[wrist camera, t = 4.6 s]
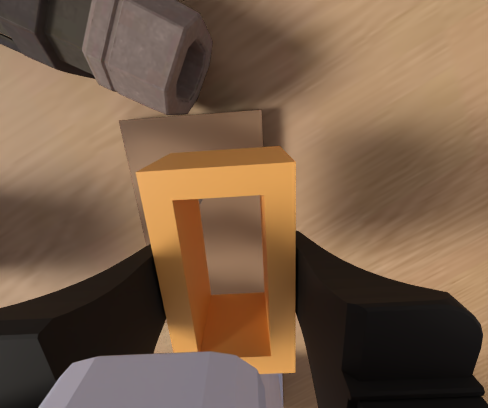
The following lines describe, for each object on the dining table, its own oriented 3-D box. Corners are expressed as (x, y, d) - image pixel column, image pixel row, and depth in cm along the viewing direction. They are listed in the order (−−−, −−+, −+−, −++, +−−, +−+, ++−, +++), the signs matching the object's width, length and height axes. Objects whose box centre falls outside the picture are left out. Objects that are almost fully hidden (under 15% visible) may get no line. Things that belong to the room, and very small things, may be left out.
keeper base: (269, 305, 25) (275, 352, 20) (168, 311, 25) (149, 359, 20) (260, 110, 19) (265, 108, 14) (127, 120, 19) (87, 122, 14)
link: (282, 306, 15) (295, 372, 11) (195, 310, 15) (178, 377, 11) (279, 145, 12) (295, 162, 8) (170, 153, 12) (135, 172, 8)
